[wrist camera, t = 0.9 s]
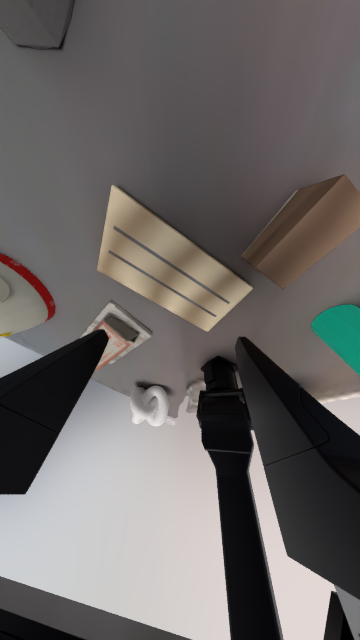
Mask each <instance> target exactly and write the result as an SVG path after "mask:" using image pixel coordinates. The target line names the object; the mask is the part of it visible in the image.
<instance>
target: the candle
mask: <svg viewBox="0 0 360 640" xmlns="http://www.w3.org/2000/svg"><path fill="white" fill-rule="evenodd" d="M311 326H312V330H313V332H314V333H316V334H317V335H318V336H319V337H320V338H321V339H322V340H323V341H324V342H325V343H326V344H327V345H328V346H329V347H330V348H331V349H332V350H333V351H334V352H336V353H337V354H338V355H339V356H340V357H341V358H342V359H343V360H344V361H345V362H346V363H347V364H348V365H349V366H350V367H351V368H352V369H353V370H355V371H356V372H357V373H358V374H359V375H360V308H358V307H356V306H355V305H353V304H351V305H338V306H335V307H333V308H330V309H327V310H325V311H324V312H322V313H321V314H320V315H318V316H317V317H316V318H315V319H314V321H313V323H312V324H311Z"/></svg>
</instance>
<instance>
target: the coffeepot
mask: <svg viewBox="0 0 360 640" xmlns="http://www.w3.org/2000/svg"><path fill="white" fill-rule="evenodd" d="M73 3H74V0H0V28H1V29H2V30H3V31H4V33H5V34H6V35H7V36H8V37H9V39H10V40H11V41H12V42H13V43H14V44H16V45H22V46H27V47H31V48H35V49H39V50H44V49H50V48H52V47H59V46H60V44H61V42H62V39H63V37H64V35H65V33H66V30H67V27H68V24H69V21H70V19H71V15H72V9H73Z"/></svg>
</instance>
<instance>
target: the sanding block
mask: <svg viewBox="0 0 360 640" xmlns="http://www.w3.org/2000/svg"><path fill="white" fill-rule="evenodd" d="M359 227H360V193H359V192H358V191H357V189H356V188H355V187H354V186H353V184H352V183H351V182H350V180H349V179H348V178H347V176H346V175H345V174H343V175H341V176H338V177H335V178H332V179H329V180H326V181H323V182H320V183H317V184H314V185H311V186H308V187H305V188H302V189H299V190H296V191H295V192H294V193H293V194H292V196H291V197H290V198H289V199H288V200H287V201H286V203H285V204H284V205H283V206H282V207H281V209H280V210H279V211H278V212H277V213H276V215H275V216H274V217H273V218H272V219H271V221H270V222H269V223H268V224H267V225H266V227H265V228H264V229H263V230H262V231H261V232H260V234H259V235H258V236H257V237H256V238H255V240H254V241H253V242H252V243H251V244H250V246H249V247H248V248H247V249H246V250H245V252H244V253H243V254H242V255H241V257H242V258H244V259H245V260H246V261H247V262H249V263H250V264H251V265H252V266H254V267H255V268H256V269H257V270H259V271H260V272H261V273H262V274H264V275H265V276H266V277H268V278H269V279H270V280H271V281H273V282H274V283H275V284H276V285H278V286H279V287H280V288H281V289H284V288H286V287H287V286H288V285H289V284H290V283H292V282H293V281H294V280H295V279H297V278H298V277H299V276H300V275H302V274H303V273H304V272H305V271H306V270H308V269H309V268H310V267H311V266H313V265H314V264H315V263H316V262H318V261H319V260H320V259H321V258H322V257H324V256H325V255H326V254H327V253H329V252H330V251H331V250H332V249H334V248H335V247H336V246H337V245H338V244H340V243H341V242H342V241H343V240H345V239H346V238H347V237H348V236H350V235H351V234H352V233H353V232H354V231H356V230H357V229H358V228H359Z"/></svg>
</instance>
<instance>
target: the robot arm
mask: <svg viewBox="0 0 360 640" xmlns="http://www.w3.org/2000/svg"><path fill="white" fill-rule="evenodd" d="M108 341H109V337H108V335H107V333H106V331H105V330H104V329H97V330H95V331H93V332H91V333H89V334H87V335H85V336H83V337H81V338H79V339H77V340H75V341H73V342H71V343H69V344H68V345H66V346H64V347H62V348H60V349H58V350H56V351H54V352H52V353H50V354H48V355H46V356H44V357H42V358H40V359H38V360H36V361H34V362H32V363H30V364H28V365H26V366H24V367H22V368H20V369H18V370H16V371H14V372H12V373H10V374H8V375H6V376H4V377H2V378H0V494H26V492H27V491H28V489H29V487H30V486H31V484H32V482H33V480H34V478H35V477H36V474H37V473H38V471H39V470H40V468H41V466H42V464H43V462H44V461H45V459H46V457H47V455H48V453H49V452H50V450H51V448H52V446H53V444H54V443H55V441H56V439H57V437H58V435H59V433H60V432H61V430H62V428H63V426H64V424H65V423H66V421H67V419H68V417H69V415H70V414H71V412H72V410H73V408H74V407H75V404H76V403H77V401H78V399H79V398H80V396H81V394H82V392H83V390H84V389H85V387H86V385H87V383H88V381H89V379H90V378H91V376H92V374H93V372H94V371H95V369H96V367H97V365H98V364H99V362H100V360H101V358H102V355H103V353H104V351H105V348H106V346H107V344H108ZM235 351H236V358H237V365H238V366H237V365H235V364H233V363H231V362H229V361H227V360H225V359H224V358H222V357H220V356H217V357H216V358H214V359H213V360H211V361H210V362H209V363H207V364H206V365H205V366H203V367H202V368H201V370H202V371H203V372H204V382H205V384H206V391H203V390H202V391H200V394H199V401H198V409H197V415H196V416H197V419H198V421H199V425H200V428H201V429H202V443H203V446H204V449H205V450H207V451H208V453H209V455H210V457H211V460H212V462H213V464H214V466H215V468H216V476H217V488H218V499H219V510H220V521H221V532H222V545H223V556H224V567H225V579H226V590H227V601H228V612H229V624H230V635H231V640H283V635H282V630H281V625H280V621H279V616H278V610H277V606H276V601H275V596H274V591H273V586H272V581H271V577H270V572H269V567H268V562H267V557H266V552H265V547H264V543H263V538H262V533H261V528H260V523H259V518H258V514H257V509H256V504H255V500H254V495H253V489H252V484H251V479H250V474H249V467H250V462H251V458H252V453H253V449H254V443H253V439H252V434H251V430H254V432H255V436H256V439H257V444H258V447H259V451H260V455H261V458H262V462H263V466H264V470H265V474H266V478H267V482H268V485H269V489H270V493H271V496H272V500H273V504H274V508H275V511H276V515H277V519H278V523H279V527H280V531H281V534H282V538H283V542H284V545H285V549H286V552H287V555H288V556H289V557H290V558H292V559H293V560H295V561H297V562H299V563H300V564H302V565H303V566H305V567H306V568H308V569H310V570H311V571H313V572H315V573H316V574H318V575H320V576H321V577H323V578H324V579H326V580H328V581H329V582H331V583H333V584H334V586H335V589H336V591H337V592H334V591H331V597H330V603H329V609H328V615H327V621H326V627H325V634H324V640H360V435H358V434H357V433H356V432H355V431H353V430H352V429H351V428H350V427H348V426H347V425H346V424H345V423H343V422H342V421H341V420H340V419H338V418H337V417H336V416H335V415H334V414H332V413H331V412H330V411H329V410H327V409H326V408H325V407H324V406H323V405H321V404H320V403H319V402H318V401H317V400H316V399H315V398H313V397H312V396H311V395H310V394H309V393H308V392H307V391H306V390H304V389H303V388H302V387H300V385H299V384H298V383H297V382H295V381H294V380H293V379H292V378H291V377H290V376H289V375H288V374H286V373H285V372H284V371H283V370H282V369H281V368H280V367H279V366H278V365H276V364H275V363H274V362H273V361H272V360H271V359H270V358H269V357H268V356H266V355H265V354H264V353H263V352H262V351H261V350H260V349H259V348H258V347H256V346H255V345H254V344H253V343H252V342H251V341H250V340H249V339H247V338H246V337H238V339H237V342H236V345H235ZM237 370H238V371H239V376H240V380H241V383H242V387H243V388H240V389H239V388H238V384H237V380H236V376H235V372H236V371H237ZM243 402H245V403H243ZM0 640H191V639H188V638H185V637H182V636H179V635H176V634H173V633H170V632H167V631H164V630H161V629H157V628H155V627H152V626H149V625H146V624H142V623H140V622H136V621H133V620H131V619H128V618H124V617H121V616H118V615H115V614H112V613H109V612H106V611H103V610H100V609H97V608H94V607H91V606H88V605H85V604H82V603H79V602H76V601H73V600H70V599H67V598H64V597H61V596H58V595H55V594H52V593H49V592H45V591H43V590H40V589H36V588H34V587H30V586H27V585H25V584H22V583H19V582H16V581H12V580H10V579H6V578H4V577H0Z"/></svg>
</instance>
